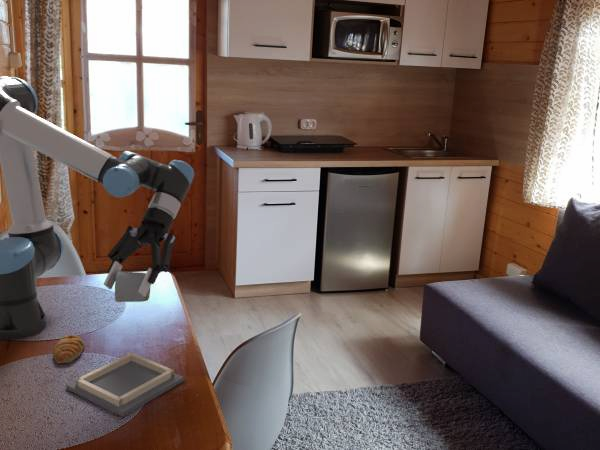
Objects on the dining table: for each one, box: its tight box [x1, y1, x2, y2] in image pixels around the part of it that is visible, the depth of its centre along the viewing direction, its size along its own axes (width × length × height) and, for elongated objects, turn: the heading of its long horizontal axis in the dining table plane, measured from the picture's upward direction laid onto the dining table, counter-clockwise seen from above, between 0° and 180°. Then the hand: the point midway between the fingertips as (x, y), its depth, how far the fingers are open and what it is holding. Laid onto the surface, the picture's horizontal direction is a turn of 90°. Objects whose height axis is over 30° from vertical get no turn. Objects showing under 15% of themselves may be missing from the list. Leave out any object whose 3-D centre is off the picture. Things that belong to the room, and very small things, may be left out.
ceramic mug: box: [114, 270, 151, 303], centre depth 152 cm, size 11×8×8 cm
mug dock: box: [65, 352, 185, 418], centre depth 135 cm, size 18×18×2 cm
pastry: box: [53, 334, 86, 364], centre depth 146 cm, size 9×7×4 cm
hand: (124, 290), depth 147 cm, fingers closed on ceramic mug, 9 cm apart
